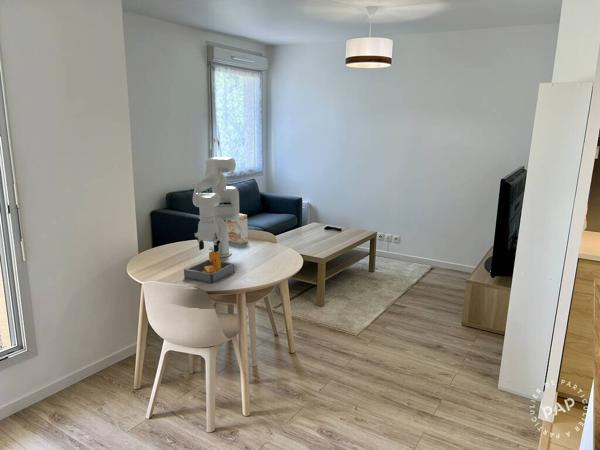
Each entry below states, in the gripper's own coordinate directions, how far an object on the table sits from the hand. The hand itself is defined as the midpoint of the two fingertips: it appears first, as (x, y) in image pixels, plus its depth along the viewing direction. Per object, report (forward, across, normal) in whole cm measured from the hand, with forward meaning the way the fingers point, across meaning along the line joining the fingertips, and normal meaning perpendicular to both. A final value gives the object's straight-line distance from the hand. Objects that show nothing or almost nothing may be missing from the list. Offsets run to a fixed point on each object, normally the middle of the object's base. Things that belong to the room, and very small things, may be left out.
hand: (209, 250), depth 235 cm
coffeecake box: (+16, -28, +66) cm, 73 cm away
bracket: (+13, +2, 0) cm, 13 cm away
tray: (+14, 0, -1) cm, 14 cm away
